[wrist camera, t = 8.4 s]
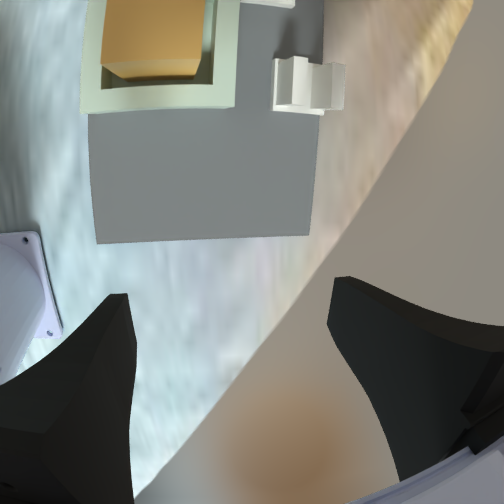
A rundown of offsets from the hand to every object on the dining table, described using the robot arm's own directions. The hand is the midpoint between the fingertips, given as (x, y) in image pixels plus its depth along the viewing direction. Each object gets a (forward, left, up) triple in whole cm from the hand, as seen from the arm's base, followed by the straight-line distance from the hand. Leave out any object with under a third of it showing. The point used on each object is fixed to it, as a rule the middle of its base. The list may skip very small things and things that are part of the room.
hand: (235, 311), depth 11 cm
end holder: (-3, +10, -9) cm, 14 cm away
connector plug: (-3, +10, -8) cm, 13 cm away
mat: (0, +8, -9) cm, 12 cm away
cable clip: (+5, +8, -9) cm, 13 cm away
